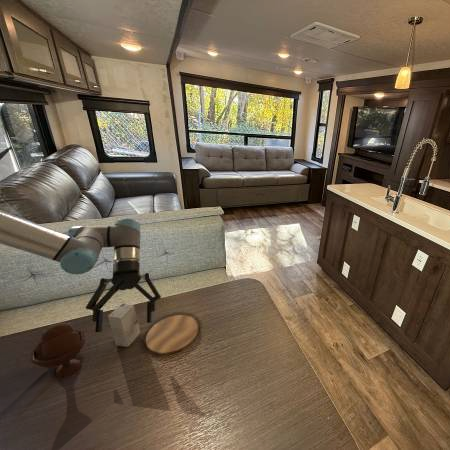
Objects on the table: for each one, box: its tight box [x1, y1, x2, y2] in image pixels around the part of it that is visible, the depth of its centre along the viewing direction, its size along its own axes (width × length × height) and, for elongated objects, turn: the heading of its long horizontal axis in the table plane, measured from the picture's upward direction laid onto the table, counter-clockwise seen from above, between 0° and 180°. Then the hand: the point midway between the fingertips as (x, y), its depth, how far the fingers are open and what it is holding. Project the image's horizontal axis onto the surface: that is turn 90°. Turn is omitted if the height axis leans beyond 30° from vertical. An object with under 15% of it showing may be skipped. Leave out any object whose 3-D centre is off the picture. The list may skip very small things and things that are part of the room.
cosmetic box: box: [107, 303, 141, 348], centre depth 79 cm, size 6×4×12 cm
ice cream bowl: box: [30, 322, 86, 379], centre depth 68 cm, size 11×11×15 cm
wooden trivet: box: [145, 314, 199, 355], centre depth 85 cm, size 16×16×1 cm
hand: (124, 327), depth 78 cm, fingers open, 13 cm apart
